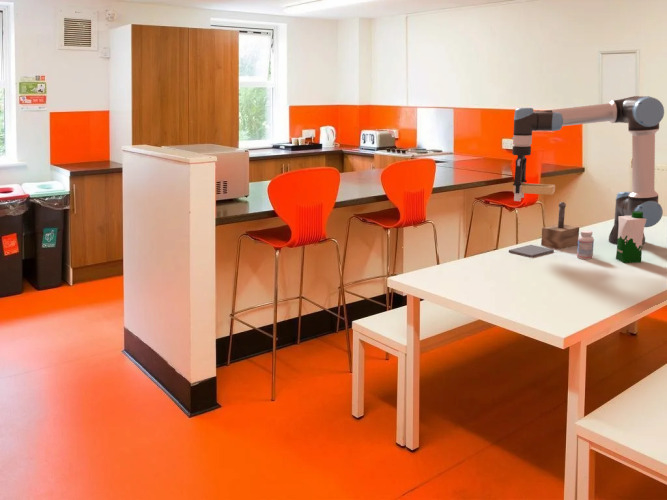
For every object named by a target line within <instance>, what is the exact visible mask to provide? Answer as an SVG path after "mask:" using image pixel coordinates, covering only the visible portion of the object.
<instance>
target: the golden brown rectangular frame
mask: <svg viewBox="0 0 667 500" xmlns="http://www.w3.org/2000/svg"><path fill="white" fill-rule="evenodd" d="M512 186H513V187H512V193H513V194H514V189H515V185H512ZM521 186H522V187H521V193H524V194H530V195H531V194H535V195H551V196H553V195H554V193H555V192H556V184H547V183H546V184H545V183H529V182H524V183H521Z"/></svg>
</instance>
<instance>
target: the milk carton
mask: <svg viewBox="0 0 667 500" xmlns="http://www.w3.org/2000/svg"><path fill="white" fill-rule="evenodd" d="M618 219H619V229H618V241H617V244H616V254H615V260H617V261H619V262H621V263H624V264H633V263H634V264H638V263H639V264H641V263H642V253H643V245H642V243H643V233H644V234H645V231H644V230H645V227H644V226H645V223H646V220H647V219H645V218H643V212H639V211H633V212H632V216H618Z"/></svg>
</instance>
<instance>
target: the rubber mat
mask: <svg viewBox="0 0 667 500" xmlns="http://www.w3.org/2000/svg"><path fill="white" fill-rule="evenodd" d="M554 252H555V251H554V248H549V247H545V246H544V247H543V246H538V245H533V244H528V245H524V246H519V247H516V248H511V249H508V253H510V254H513V255H514V254H515V255H519V256H522V257H527V258H532V259H533V258H535V257H539V256H543V255H548V254H552V253H554Z"/></svg>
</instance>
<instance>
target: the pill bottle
mask: <svg viewBox="0 0 667 500" xmlns="http://www.w3.org/2000/svg"><path fill="white" fill-rule="evenodd" d="M594 241H595V239H594V237H593V231H592V230H587V229H585V230H584V229H583V230H580V232H579V238H578V245H577V251H576V257H577V259H582V260H590V259H592V258H593V254H594Z"/></svg>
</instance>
